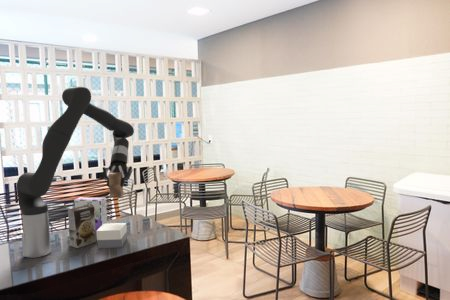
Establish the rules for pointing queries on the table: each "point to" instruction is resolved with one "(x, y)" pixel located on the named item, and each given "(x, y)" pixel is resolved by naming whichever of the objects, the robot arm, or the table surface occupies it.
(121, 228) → the tower top slab
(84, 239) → the coffee box
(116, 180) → the walnut block
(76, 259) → the table surface
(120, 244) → the tower base slab
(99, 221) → the candy box
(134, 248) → the table surface
